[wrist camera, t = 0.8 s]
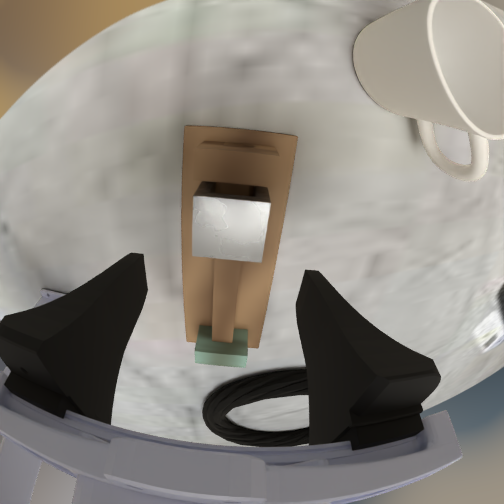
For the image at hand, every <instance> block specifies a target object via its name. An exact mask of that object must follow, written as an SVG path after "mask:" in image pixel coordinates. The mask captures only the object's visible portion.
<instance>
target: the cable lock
mask: <svg viewBox="0 0 504 504" xmlns="http://www.w3.org/2000/svg"><path fill="white" fill-rule="evenodd" d="M296 395H309V392H308V379H307V369H303V370H295V371H279V372H273V373H269V374H265V375H260V376H256V377H251V378H246V379H243V380H240V381H237V382H234V383H231V384H229V385H227V386H225V387H223V388H222V389H220V390H218V391H217V392H216V393H214V394H212V395H211V397H210V398H209V399H208V400H207V401H206V402H205V405H204V408H203V411H202V413H203V419H204V421H205V424H206V426H207V427H208V428H209V429H210V430H211V431H212V432H213V433H214V434H216V435H218V436H220V437H222V438H223V439H225V440H227V441H231V442H234V443H237V444H240V445H247V446H256V447H292V446H297V445H302V444H309V428H306V429H302V430H298V431H288V432H278V433H271V432H261V431H251V430H247V429H245V428H242V427H238V426H235V425H233V424H232V423H231V422H230V421H228V420H227V419H226V418H225V415H226V414H227V413H228V412H229V411H230V410H232V409H233V408H235V407H239V406H242V405H246V404H250V403H253V402H257V401H260V400H264V399H270V398H279V397H287V396H296Z"/></svg>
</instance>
